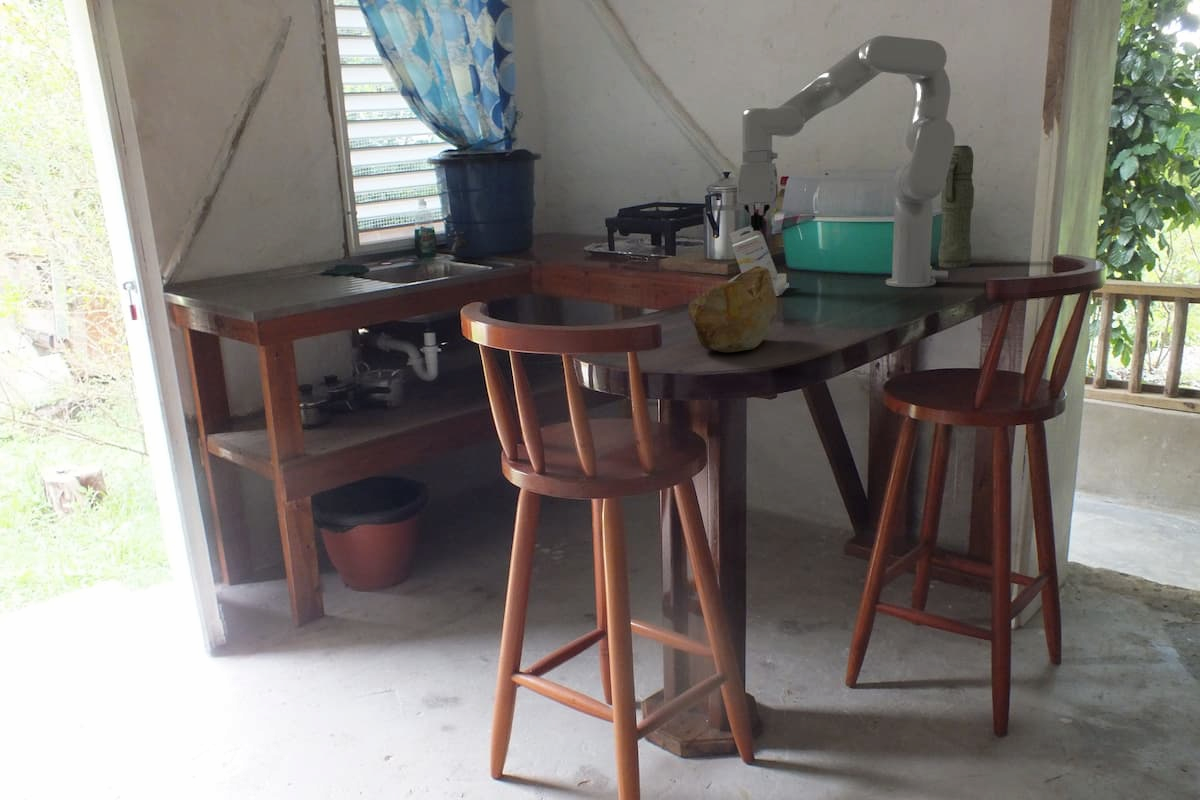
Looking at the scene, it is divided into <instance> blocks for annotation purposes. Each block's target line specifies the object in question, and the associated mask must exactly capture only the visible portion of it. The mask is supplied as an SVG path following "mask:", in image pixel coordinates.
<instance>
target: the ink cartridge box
mask: <svg viewBox="0 0 1200 800" xmlns="http://www.w3.org/2000/svg"><path fill="white" fill-rule="evenodd" d="M744 232H748V233H746V234H744ZM742 234H743V235H742ZM729 238H730V241H731V243H732V247H731V248H732V251H733V253H734V256H735V259H736V261H737V264H738V267H739V270H740V273H743V272H745V271H748V270H750V269H752V268H754V267H755V266H760V267H761V268H762V267H763V268H767V269H768V270H769V272H770V275H771V278H774V277H776V276H777V274H778V271H777V269H776V266H775V263H774V261H773V258H772V256H771V253H770V250H769V248H768V245H767V243H766V240H765V237H764V234H763V233H762V230H761V231H753V228H751V224H750V225H748V226H745V227H742V228H739V229H738V230H736V231H734V232H730V233H729Z"/></svg>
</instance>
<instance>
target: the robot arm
mask: <svg viewBox="0 0 1200 800" xmlns="http://www.w3.org/2000/svg"><path fill="white" fill-rule="evenodd" d="M947 57H948V55H947V52H946V49H945V47H943V45H942V44H941V43H940V42H938V41H936V40H931V39H921V38H914V37H913V38H912V37H902V36H892V35H877V36H874V37H873V38H870V39H868V40H866V41H865V42H863V43H862V44H860V45H859V46H857V47H856V48H855V49H853V50H852V51H850V52H849V54H846V55H845V56H844V57H843V58H841V59H840V60H839V61H838V62H836V63H835V64H834V65H832V66H831V67H830V68H828V69H827V70H826V71H824V72H823V73H821V74H820V75H819V76H818V77H816V78H815V79H814V80H813V81H812V82H810V83H809V84H808V85H807V86H805V87H804V88H802V89H801V90H800V91H798V92H797V93H796V94H794V95H793V96H792V97H790V98H789V99H788V100H786V101H785V102H783V103H782V104H781V105H780V106H779V107H775V108H774V107H773V108H767V107H757V108H747V109H745V110H744V111H743V112H742V117H741V118H742V120H741V122H742V123H741V124H742V127H741V128H742V129H741V131H742V133H741V134H742V137H741V138H742V143H741V145H742V147H741V148H742V163H741V164H740V165H739V169H738V176H737V188H736V189H737V190H736V198H737V199H736V200H737V203H736V207H737V209H738V208H739V209H741V210H745V211H746V212H747V213H748V214H749V216H750V225H751V228H753V231H761V232H762V230H763V228H764V226H765V225H764V222H765V221H764V218H765V217H764V215H765V214H766V213H767V212H768V211H769V210H770V209H774V208H777V207H778V206H779V201H778V199H779V183H778V179H779V178H778V172H777V165H776V163H775V162H774V163H773V161H774V160H775V159H778V158H779V153H778V152H774V150H773V136H778V137H782V138H785V137H786V138H788V137H794V136H796V135H798V134H799V133H801V131H802V130H803V127H804V126H805V123H807V122H808V121H810V120H811V119H813V118H814V117H816V116H817V115H819V114H821V113H822V112H823V111H825V110H827V109H829V108H832V107H834V106H837V105H839V104H840V103H842V102H843V101H845V100H846V99H848V97H850V96H852V95H853V94H854V93H855V92H857V91H858V90H859V89H861V88H862V87H863V86H865V85H866V84H867V83H869V82H871V80H874V78H876V77H877V76H878V75H880V74H881V73H888V74H894V75H895V74H896V75H902V76H905V77H907V79H908V80H909V81H910V82H911V84H912V86H913V89H914V97H913V98H914V99H913V107H912V111H911V116H910V118H909V119H910V120H909V124H908V129H907V133H906V136H905V144H906V145H905V146H906V148H907V150H908V151H909V152H910V153H912V156H911V160H910V161H908V162H906V163H904V164H902V165H901V166H900V167H899V168H898V169H897V170H896V173H895V174H894V177H893V181H892V193H893V202H894V203H893V211H894V213H893V215H894V216H893V235H892V236H893V238H892V240H893V241H892V244H893V245H892V270H891V277H890V278H887V279H885V284H886V285H887V286H888V287H889V286H890V287H896V288H926V287H932V286H935V285H936V283H937V280H936V279H937V278H938V279H939V278H940V279H948V277H949V270H936V269H933V266H932V265H931V260H932V259H931V258H932V238H933V237H932V235H933V216H934V215H933V199H935V198H937V197H938V196H939V195H940V194H941V193H942V189H943V187H944V185H945V182H946V178H947V174H948V170H949V166H950V162H951V157H952V153H953V148H954V146H955V142H956V137H955V136H956V135H955V134H956V133H955V130H954V127H953V125H952V124H951V123H950V121H949V120H947V117H948V112H949V104H950V100H951V83H950V80H949V77H948V74H947V71H946V69H945V66H946V63H947ZM756 204H759V207H758V208H759V209H758V212H757V207H756Z"/></svg>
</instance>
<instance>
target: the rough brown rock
mask: <svg viewBox="0 0 1200 800" xmlns="http://www.w3.org/2000/svg"><path fill="white" fill-rule="evenodd" d="M740 273H741V272H740ZM740 273H739V274H740ZM739 274H738V275H739ZM777 298H778V297H776V294H775V291H774V287H773V283H772V280H771V275H770V272H769V270H768V269H767V268H763V267H762V268H761V267H760V266H755V267H754V268H752V269H750V270H748V271H745V272H743V273H741V274H740V275H739V276H738V277H737V278H735V279H734V280H733V281H732V282H728V281H726V282H722V283H719V284H715V285H712V286H710V287H709V289H708V291H707V292H706V293H703V294H701V295H697V296H696V297H694V298H693V299H692V300H691V301H689V303H688V316H689V319H690V321H691V322H692V324H693V325H694V328H695V333H696V334H697V335H696V336H697V339H698V341H699V343H700V345H701V346H702V347H704V350H711V349H712V350H714V351H717V352H721V353H736V352H741V351H751V350H754V349H755V348H757V347H759V345H760V344H761V343H762V342H763V341H764V340H766V338H767V337H768V336H769V334H771V333H770V332H771V329H772V328H771V327H772V325H771V321H772V320H773V319H774V318H775V317H776V315H777V313H778V311H777V309H778V299H777Z"/></svg>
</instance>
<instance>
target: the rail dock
mask: <svg viewBox="0 0 1200 800" xmlns="http://www.w3.org/2000/svg"><path fill="white" fill-rule="evenodd" d="M740 274H741V272H740V273H739V274H737V275H735V276H734V277H732V278H731V279H729V280H727V282H732V281H733V280H734V279H735V278H737V277H738V276H739V275H740ZM771 280H772V283H773V287H774V291H775V294H776V296H779V295H780V296H781V295H782V294H784V293H785V292H786V291H787V290H788V289H789V288H790V283H789V282H787V273H777V276H776V277H774V278H771ZM788 287H789V288H788ZM787 288H788V289H787ZM786 289H787V290H786ZM785 290H786V291H785ZM784 291H785V292H784ZM783 292H784V293H783ZM780 296H779V297H780Z"/></svg>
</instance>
